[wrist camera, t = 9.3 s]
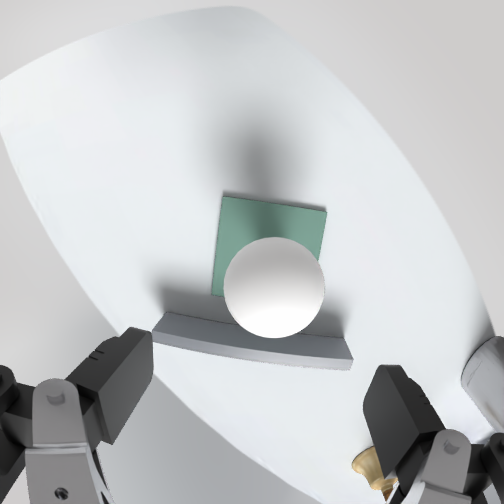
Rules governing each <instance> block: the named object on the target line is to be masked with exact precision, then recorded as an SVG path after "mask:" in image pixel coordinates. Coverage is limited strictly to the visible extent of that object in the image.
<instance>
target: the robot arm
mask: <svg viewBox="0 0 504 504" xmlns="http://www.w3.org/2000/svg"><path fill="white" fill-rule="evenodd" d="M152 375H153V340H152V333H151V332H149V331H145V330H141V329H138V328H134V327H129V328H128V329H127V330H126V331H125V332H124V333H123V334H122V335H121V336H120V337H112V338H110V339H108V340H106V341H103V342H102V343H101V344H100V345H99V346H98V347H97V348H96V349H95V351H93V352H92V353H91V354H90V355H89V357H88V358H86V359H85V360H84V361H83V362H82V363H81V364H80V365H79V366H78V367H77V368H76V369H75V370H74V371H73V372H72V373H71V374H70V375H69V376H68V377H67V378H66V379H65V380H63V379H48V380H45V381H43V382H41V383H40V384H38V386H36V387H33V386H29V385H25V384H21V383H17V382H16V380H15V377H14V374H13V372H12V370H11V369H9V368H8V367H6V366H3V365H0V504H1V503H2V502H3V500H4V498H5V496H6V495H7V494H8V492H9V490H10V489H11V487H12V486H13V484H14V483H15V481H16V479H17V478H18V476H19V475H20V473H21V472H22V470H23V469H24V467H25V466H26V474H27V484H28V491H29V498H30V504H115V502H114V500H113V498H112V495H111V493H110V490H109V487H108V484H107V481H106V478H105V475H104V472H103V468H102V465H101V461H100V458H99V454H98V451H97V448H96V447H97V446H98V444H99V443H100V441H104V442H106V443H109V444H111V445H113V443H114V442H115V440H116V438H117V437H118V435H119V433H120V432H121V430H122V428H123V427H124V425H125V423H126V421H127V420H128V418H129V417H130V415H131V413H132V412H133V410H134V408H135V407H136V405H137V403H138V402H139V400H140V398H141V396H142V395H143V393H144V392H145V390H146V389H147V387H148V385H149V384H150V382H151V379H152ZM461 384H462V387H463V389H464V390H465V392H466V393H467V394H468V395H469V397H470V398H471V399H472V401H473V402H474V403H475V405H476V406H477V407H478V409H479V410H480V411H481V413H482V414H483V416H484V417H485V418H486V420H487V421H488V422H489V424H490V425H491V427H492V428H493V429H494V431H495V432H496V433H495V434H493V435H492V436H491V437H490V439H489V440H488V441H487V443H486V444H470V441H469V440H468V438H467V437H466V436H465V435H464V434H462V433H461V432H459V431H456V430H452V429H446V428H445V426H444V425H443V423H442V421H441V420H440V418H439V416H438V415H437V413H436V411H435V410H434V408H433V406H432V405H430V401H429V400H428V398H427V397H425V396H426V395H425V393H424V392H423V390H422V389H421V387H420V386H419V385H418V384H417V383H416V382H414V381H413V380H412V379H411V378H408V376H407V375H406V373H405V371H404V370H403V368H402V367H401V366H400V365H380V366H379V367H378V368H377V370H376V372H375V375H374V377H373V380H372V382H371V384H370V387H369V389H368V391H367V393H366V396H365V398H364V402H363V413H364V416H365V419H366V422H367V425H368V428H369V431H370V434H371V437H372V440H373V444H374V447H375V450H376V453H377V456H378V460H379V463H380V466H381V470H382V473H383V477H384V480H386V479H392V478H398V481H399V482H398V483H397V485H396V486H395V487H394V489H393V491H392V493H391V494H390V496H389V498H388V500H387V502H386V503H385V504H488V503H487V501H486V498H485V496H484V493H483V491H484V490H485V489H486V488H487V487H489V486H490V485H491V483H493V485H494V487H495V489H496V491H497V493H498V496H499V498H500V500H501V504H504V338H503V337H501V336H497V337H493V338H491V339H490V340H488V341H487V342H485V343H484V344H483V345H482V346H481V347H480V348H479V349H478V350H477V351H476V352H475V353H474V354H473V356H472V357H471V359H470V360H469V362H468V363H467V365H466V367H465V369H464V372H463V375H462V379H461Z"/></svg>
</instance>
